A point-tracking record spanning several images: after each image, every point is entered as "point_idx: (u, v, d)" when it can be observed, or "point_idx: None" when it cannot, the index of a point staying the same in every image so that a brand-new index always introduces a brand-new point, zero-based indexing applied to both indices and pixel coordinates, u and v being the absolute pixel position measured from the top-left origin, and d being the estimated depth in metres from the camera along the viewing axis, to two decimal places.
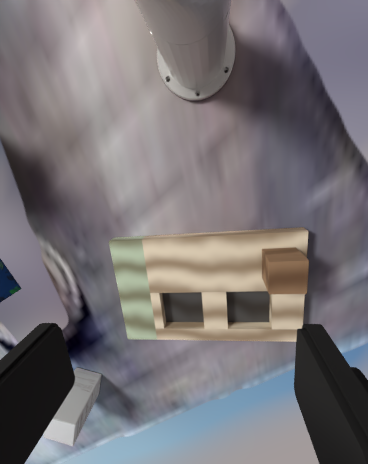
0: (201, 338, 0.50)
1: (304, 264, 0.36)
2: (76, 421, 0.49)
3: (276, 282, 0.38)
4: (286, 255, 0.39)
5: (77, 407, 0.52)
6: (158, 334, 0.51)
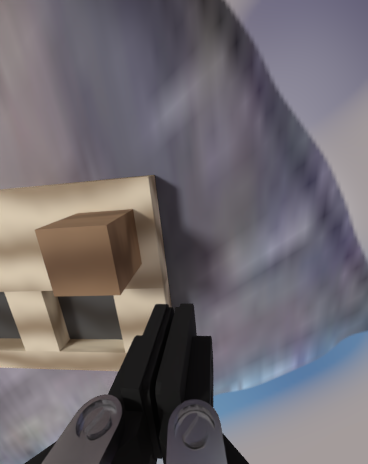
0: (25, 365, 0.31)
1: (100, 233, 0.17)
2: None
3: (59, 272, 0.19)
4: (89, 219, 0.20)
5: None
6: None
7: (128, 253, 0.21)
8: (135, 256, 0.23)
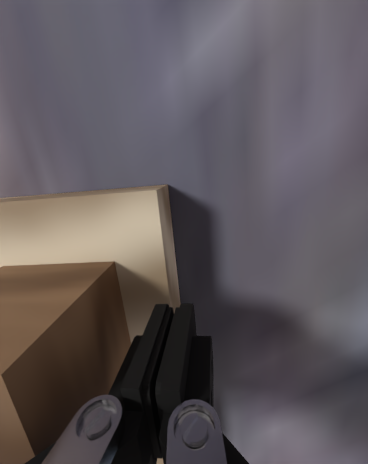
0: None
1: None
2: None
3: None
4: None
5: None
6: None
7: (101, 374, 0.09)
8: (120, 363, 0.11)
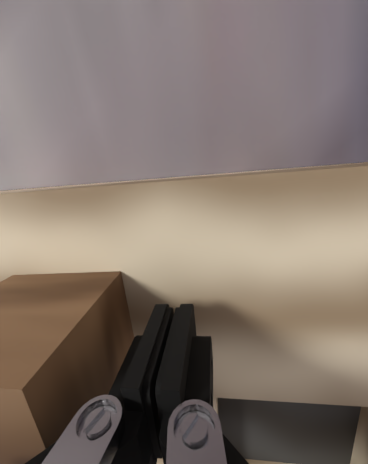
0: None
1: (7, 408, 0.06)
2: None
3: None
4: (10, 319, 0.08)
5: None
6: None
7: (109, 382, 0.09)
8: None
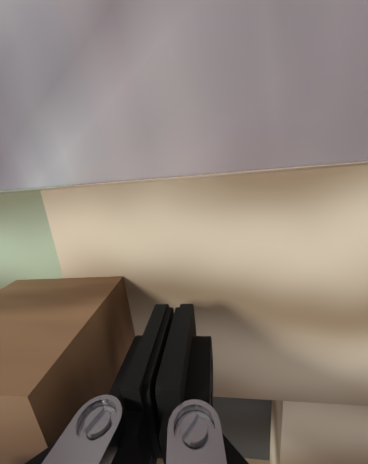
0: None
1: (13, 415, 0.06)
2: None
3: None
4: (14, 325, 0.08)
5: None
6: None
7: None
8: None
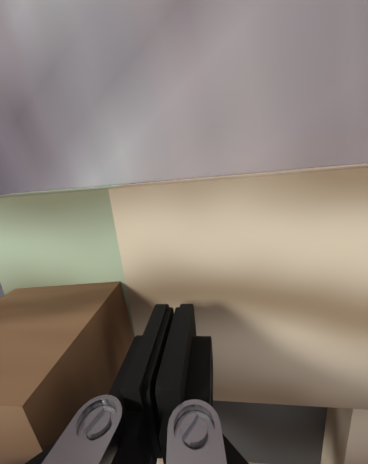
0: None
1: (9, 425, 0.06)
2: None
3: None
4: (12, 334, 0.08)
5: None
6: None
7: None
8: None
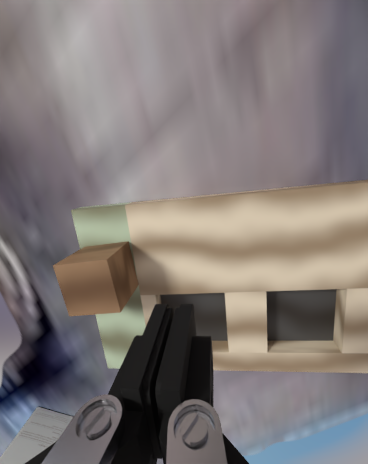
0: (223, 367, 0.31)
1: (102, 266, 0.23)
2: None
3: (73, 297, 0.24)
4: (94, 253, 0.25)
5: None
6: None
7: (126, 277, 0.26)
8: (132, 279, 0.28)
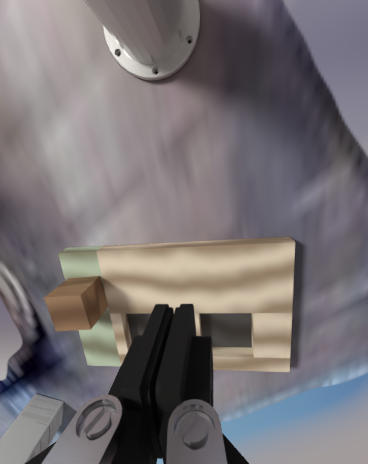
0: None
1: (77, 299, 0.33)
2: None
3: (58, 318, 0.35)
4: (73, 287, 0.36)
5: (28, 446, 0.44)
6: (122, 361, 0.44)
7: (96, 303, 0.37)
8: (102, 303, 0.39)
